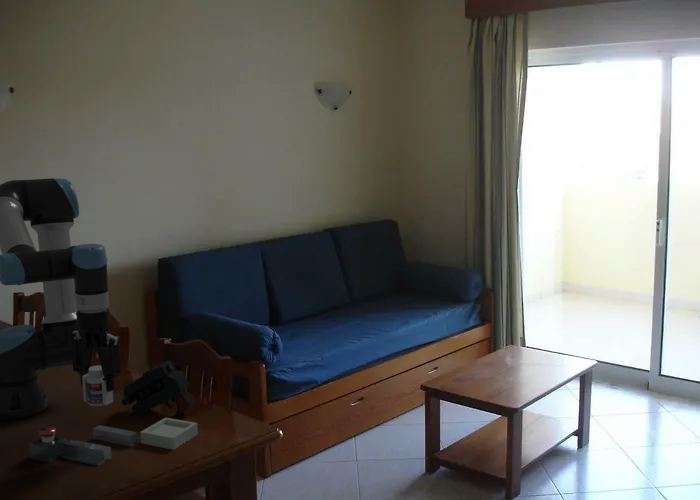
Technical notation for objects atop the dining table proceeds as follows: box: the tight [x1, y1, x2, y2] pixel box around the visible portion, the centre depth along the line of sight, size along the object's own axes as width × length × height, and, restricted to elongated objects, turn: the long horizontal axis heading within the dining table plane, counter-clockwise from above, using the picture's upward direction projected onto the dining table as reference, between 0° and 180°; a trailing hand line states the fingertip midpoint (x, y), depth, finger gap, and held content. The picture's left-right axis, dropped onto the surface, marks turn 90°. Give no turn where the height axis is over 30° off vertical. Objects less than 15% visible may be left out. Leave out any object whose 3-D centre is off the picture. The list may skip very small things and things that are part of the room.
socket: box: [58, 424, 141, 467], centre depth 177 cm, size 12×16×3 cm
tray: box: [139, 417, 199, 451], centre depth 182 cm, size 10×10×3 cm
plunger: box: [38, 426, 57, 444], centre depth 173 cm, size 4×4×6 cm
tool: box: [120, 360, 195, 417], centre depth 199 cm, size 6×19×15 cm, turn 78°
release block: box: [28, 433, 69, 464], centre depth 173 cm, size 6×6×4 cm
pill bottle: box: [86, 364, 104, 407], centre depth 175 cm, size 5×5×9 cm
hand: (98, 401), depth 176 cm, fingers closed on pill bottle, 5 cm apart
